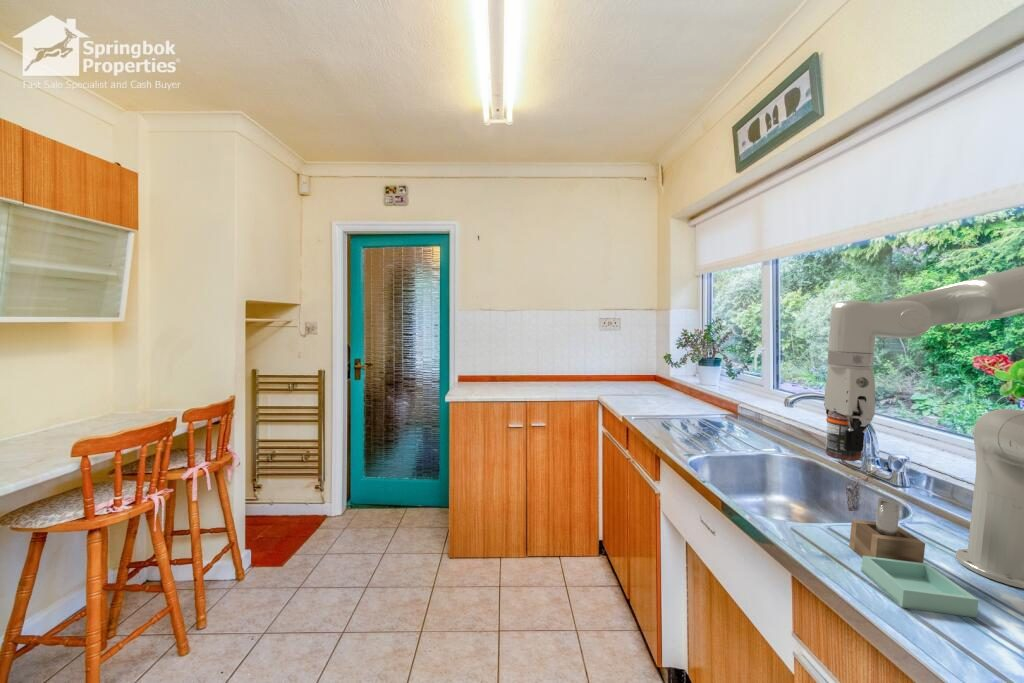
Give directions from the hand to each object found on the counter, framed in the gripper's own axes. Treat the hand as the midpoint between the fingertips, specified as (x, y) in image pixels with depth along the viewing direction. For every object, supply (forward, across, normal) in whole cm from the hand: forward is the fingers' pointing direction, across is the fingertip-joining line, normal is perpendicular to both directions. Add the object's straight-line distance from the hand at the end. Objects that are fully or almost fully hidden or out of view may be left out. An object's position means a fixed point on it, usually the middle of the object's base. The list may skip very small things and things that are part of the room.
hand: (843, 445), depth 91 cm
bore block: (+21, -5, -6) cm, 23 cm away
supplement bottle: (+3, 0, 0) cm, 3 cm away
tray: (+21, -16, -4) cm, 27 cm away
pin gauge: (+21, -5, -6) cm, 23 cm away
